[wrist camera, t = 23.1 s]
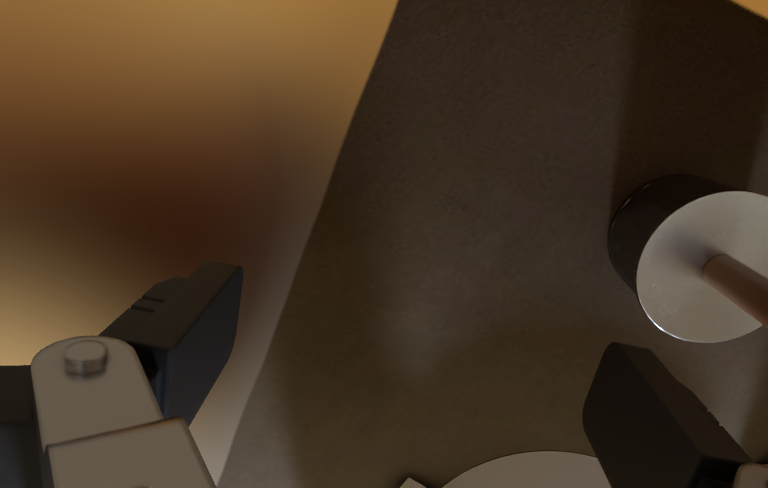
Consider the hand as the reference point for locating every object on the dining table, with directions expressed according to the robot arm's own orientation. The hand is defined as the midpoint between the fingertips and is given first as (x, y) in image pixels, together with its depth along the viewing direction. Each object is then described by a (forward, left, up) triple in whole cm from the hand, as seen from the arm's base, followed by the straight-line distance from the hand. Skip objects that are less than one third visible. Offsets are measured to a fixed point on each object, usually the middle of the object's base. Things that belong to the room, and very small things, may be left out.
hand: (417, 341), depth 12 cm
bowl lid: (+12, +20, -26) cm, 35 cm away
